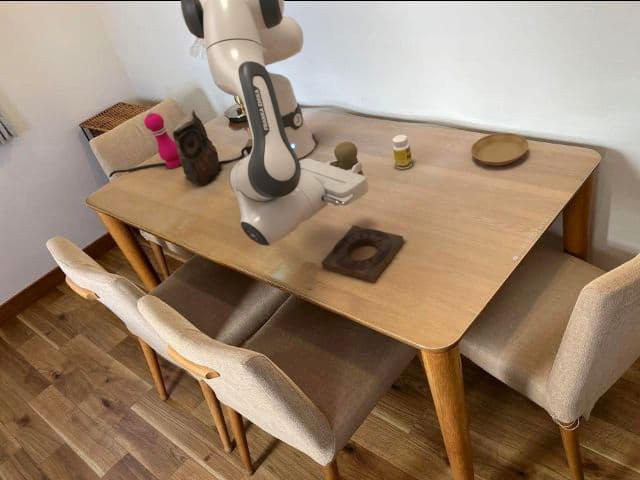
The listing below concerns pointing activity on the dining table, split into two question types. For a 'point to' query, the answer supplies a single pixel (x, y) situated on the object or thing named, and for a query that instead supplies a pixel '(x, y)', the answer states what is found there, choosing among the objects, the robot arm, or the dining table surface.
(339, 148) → the pepper shaker
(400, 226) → the dining table surface
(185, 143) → the owl
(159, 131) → the pepper mill
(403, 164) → the supplement bottle
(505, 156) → the plant saucer
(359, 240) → the holder
